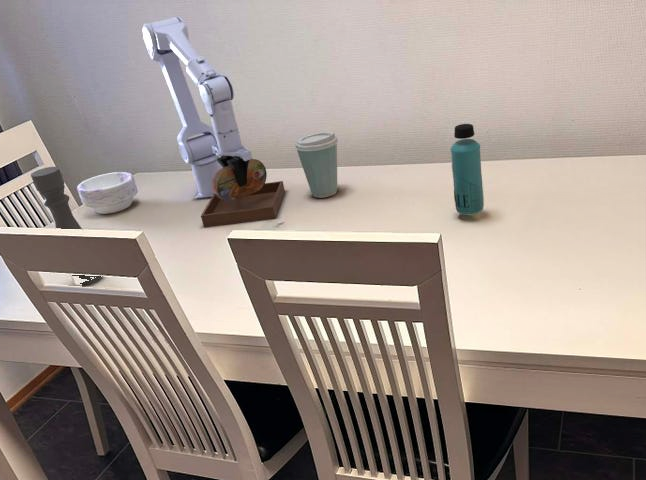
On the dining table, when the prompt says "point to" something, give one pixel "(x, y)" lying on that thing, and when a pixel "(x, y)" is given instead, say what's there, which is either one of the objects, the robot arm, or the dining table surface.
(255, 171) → the tin
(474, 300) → the dining table surface
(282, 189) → the tray
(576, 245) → the dining table surface
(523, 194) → the dining table surface
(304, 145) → the disposable coffee cup
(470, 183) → the beverage bottle
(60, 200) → the candle holder
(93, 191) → the paper bowls
